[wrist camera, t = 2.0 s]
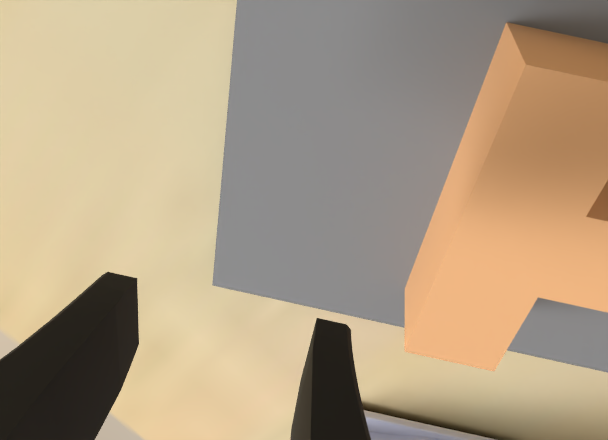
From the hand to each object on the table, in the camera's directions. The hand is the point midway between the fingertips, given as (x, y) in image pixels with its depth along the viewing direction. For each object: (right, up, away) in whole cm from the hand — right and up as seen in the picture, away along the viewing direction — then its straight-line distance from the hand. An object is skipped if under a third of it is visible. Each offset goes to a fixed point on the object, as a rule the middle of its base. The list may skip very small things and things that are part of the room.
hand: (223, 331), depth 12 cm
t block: (+11, +3, +6) cm, 13 cm away
